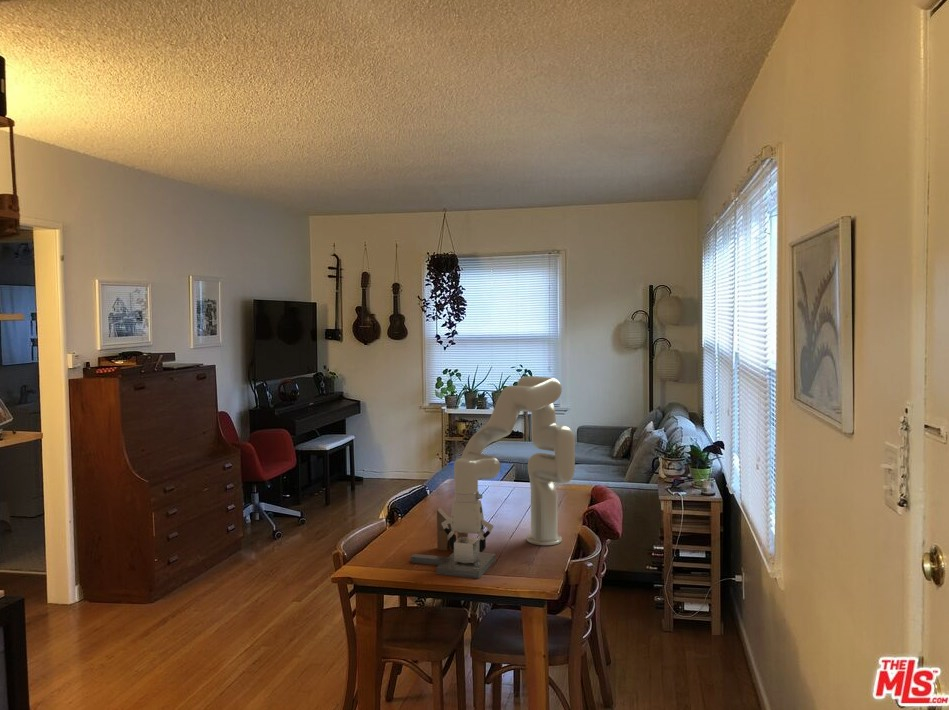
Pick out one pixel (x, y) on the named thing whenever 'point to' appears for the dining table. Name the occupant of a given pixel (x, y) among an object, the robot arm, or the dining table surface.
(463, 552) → the socket
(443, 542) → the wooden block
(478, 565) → the tang block
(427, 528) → the dining table surface
